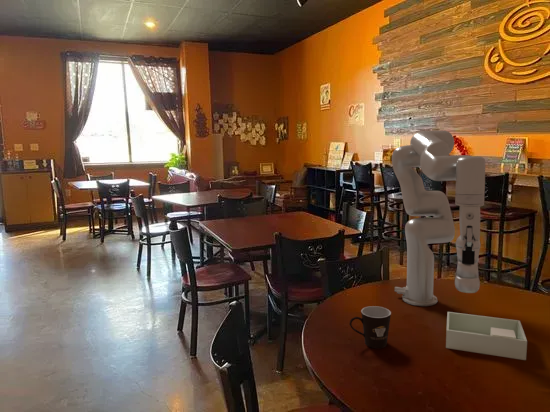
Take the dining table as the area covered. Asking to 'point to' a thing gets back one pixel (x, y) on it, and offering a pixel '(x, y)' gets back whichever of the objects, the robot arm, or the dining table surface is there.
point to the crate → (484, 335)
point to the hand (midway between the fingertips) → (467, 260)
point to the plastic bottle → (467, 269)
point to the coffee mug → (374, 326)
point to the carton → (502, 333)
